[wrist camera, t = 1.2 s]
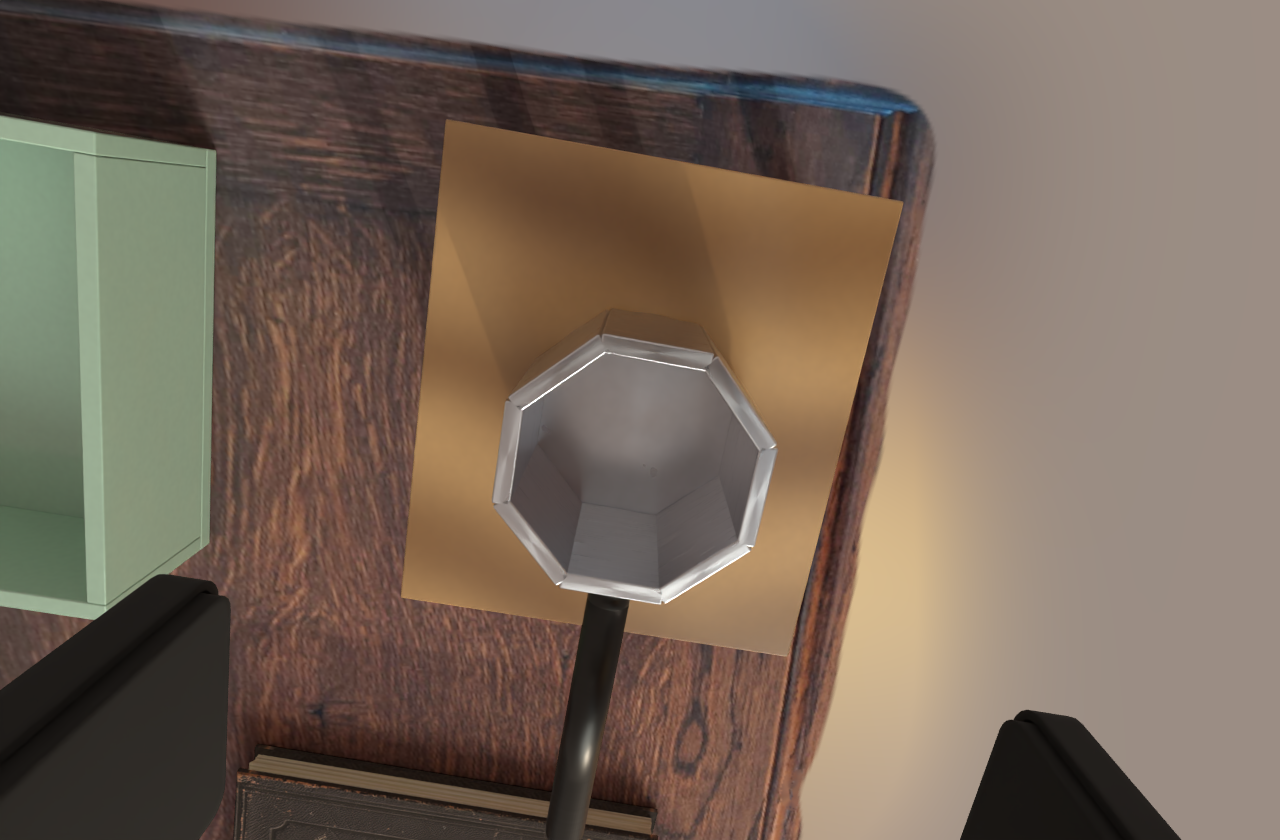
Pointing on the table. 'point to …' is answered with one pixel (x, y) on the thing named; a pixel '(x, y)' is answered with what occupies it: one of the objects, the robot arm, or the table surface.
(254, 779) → the hardcover book
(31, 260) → the basin
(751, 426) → the saucepan
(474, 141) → the stand
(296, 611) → the table surface
